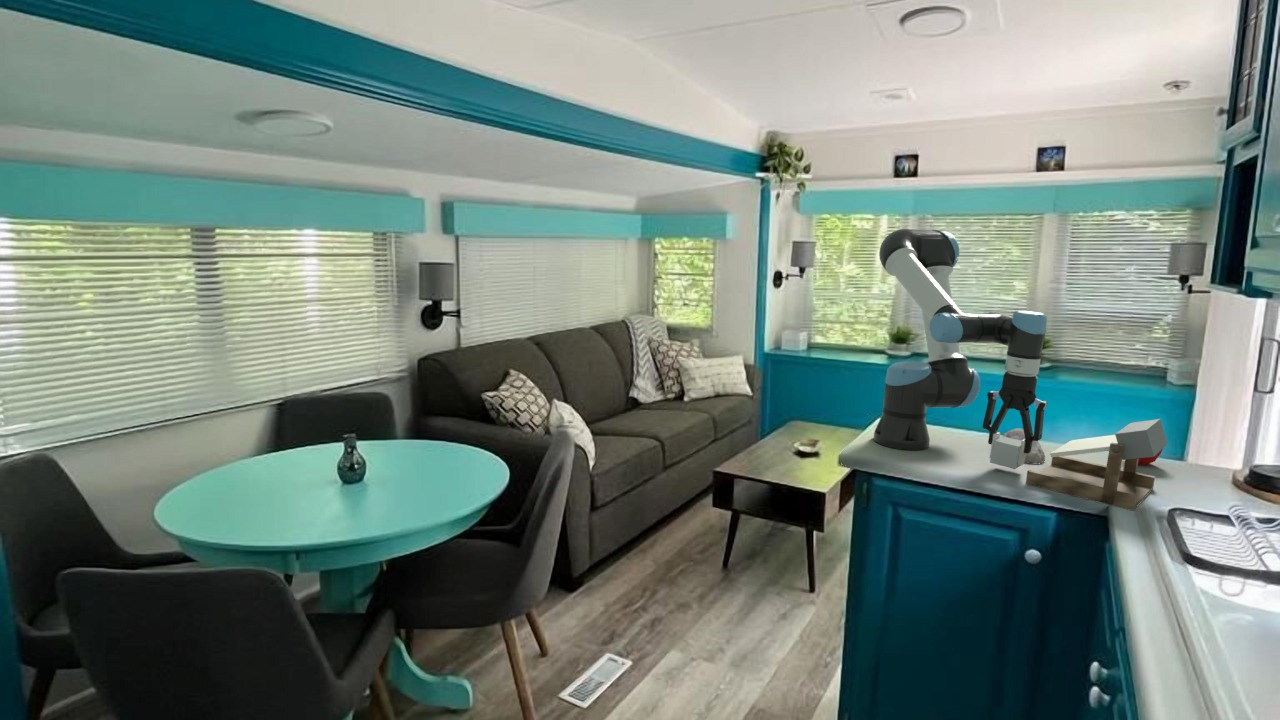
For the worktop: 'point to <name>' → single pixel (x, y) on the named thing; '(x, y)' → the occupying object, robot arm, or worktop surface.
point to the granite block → (1005, 452)
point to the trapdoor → (1122, 441)
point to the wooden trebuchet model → (1096, 479)
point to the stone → (1036, 450)
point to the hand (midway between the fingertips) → (1006, 460)
